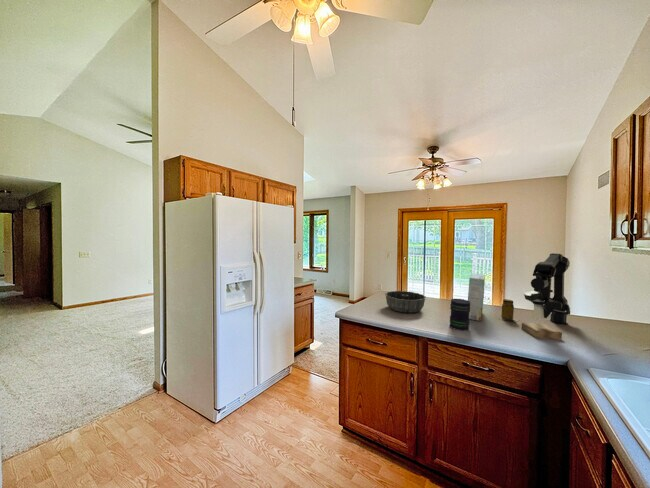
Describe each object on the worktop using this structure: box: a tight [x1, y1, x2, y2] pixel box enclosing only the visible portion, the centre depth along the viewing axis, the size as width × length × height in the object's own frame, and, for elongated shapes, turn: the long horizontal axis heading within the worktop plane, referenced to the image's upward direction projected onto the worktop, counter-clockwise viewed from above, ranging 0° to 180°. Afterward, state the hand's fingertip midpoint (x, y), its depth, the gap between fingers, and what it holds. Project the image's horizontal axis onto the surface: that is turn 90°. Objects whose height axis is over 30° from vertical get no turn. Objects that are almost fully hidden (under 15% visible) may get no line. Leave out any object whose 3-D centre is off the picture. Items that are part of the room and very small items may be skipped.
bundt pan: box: [384, 290, 427, 314], centre depth 178 cm, size 26×26×10 cm
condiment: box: [498, 298, 519, 323], centre depth 161 cm, size 7×8×12 cm
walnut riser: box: [521, 322, 563, 341], centre depth 139 cm, size 12×12×4 cm
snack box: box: [467, 273, 486, 322], centre depth 167 cm, size 22×9×26 cm, turn 148°
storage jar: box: [449, 298, 471, 331], centre depth 147 cm, size 10×10×15 cm
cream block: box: [532, 304, 552, 322], centre depth 139 cm, size 5×5×7 cm
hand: (541, 316), depth 139 cm, fingers closed on cream block, 5 cm apart
